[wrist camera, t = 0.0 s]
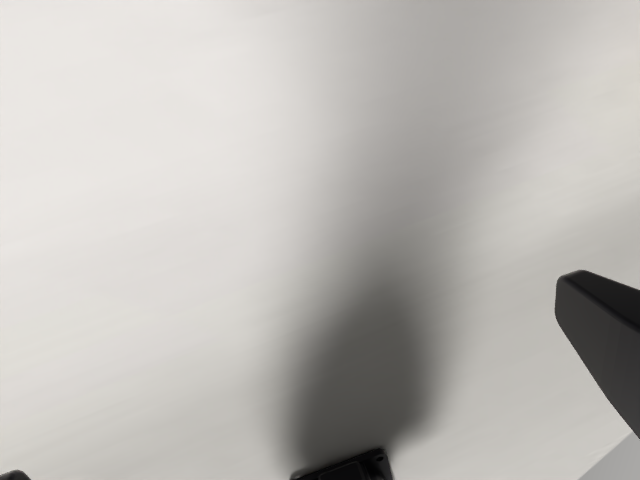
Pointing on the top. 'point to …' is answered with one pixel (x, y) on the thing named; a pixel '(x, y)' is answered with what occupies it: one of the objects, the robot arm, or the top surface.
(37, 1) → the top surface
